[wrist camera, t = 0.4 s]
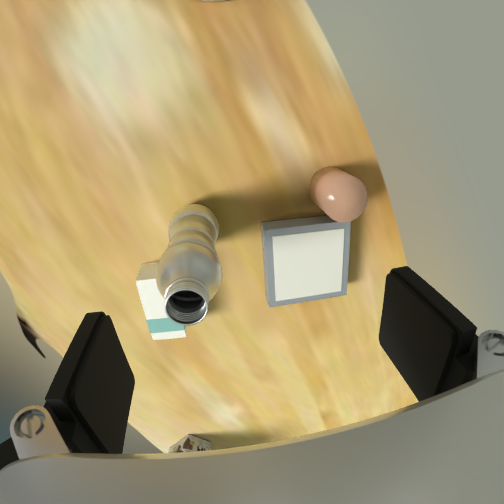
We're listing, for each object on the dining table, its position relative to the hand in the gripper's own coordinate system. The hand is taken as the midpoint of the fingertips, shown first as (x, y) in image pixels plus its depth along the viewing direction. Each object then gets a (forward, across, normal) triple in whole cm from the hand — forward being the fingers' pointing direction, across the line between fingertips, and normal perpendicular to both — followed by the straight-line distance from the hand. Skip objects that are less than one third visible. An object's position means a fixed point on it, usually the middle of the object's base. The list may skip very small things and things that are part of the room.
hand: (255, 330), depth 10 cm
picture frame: (+34, -11, +14) cm, 38 cm away
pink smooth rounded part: (+34, -15, +4) cm, 37 cm away
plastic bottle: (+34, +4, +6) cm, 35 cm away
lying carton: (+34, +10, +16) cm, 39 cm away
